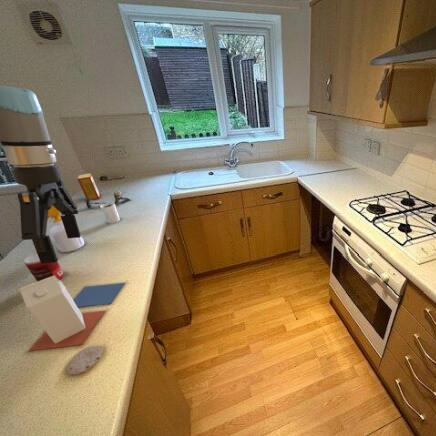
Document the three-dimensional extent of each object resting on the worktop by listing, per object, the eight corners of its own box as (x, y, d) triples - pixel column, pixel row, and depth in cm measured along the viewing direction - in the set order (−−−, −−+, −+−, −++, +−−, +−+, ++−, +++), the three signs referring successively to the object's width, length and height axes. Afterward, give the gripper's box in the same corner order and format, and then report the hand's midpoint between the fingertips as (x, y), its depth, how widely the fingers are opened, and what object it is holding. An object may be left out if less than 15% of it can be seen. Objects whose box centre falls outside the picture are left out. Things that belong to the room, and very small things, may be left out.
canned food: (60, 270, 98) (46, 248, 93) (68, 276, 95) (54, 254, 89) (35, 281, 92) (19, 258, 87) (43, 288, 89) (27, 265, 84)
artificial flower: (91, 207, 156) (88, 191, 154) (131, 204, 164) (129, 190, 162) (85, 209, 148) (82, 192, 146) (128, 206, 156) (126, 191, 154)
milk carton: (53, 329, 73) (18, 282, 64) (82, 315, 77) (53, 269, 68) (55, 344, 68) (18, 296, 59) (86, 328, 73) (55, 281, 64)
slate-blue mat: (66, 308, 80) (65, 308, 80) (85, 287, 89) (84, 286, 89) (110, 304, 82) (110, 303, 81) (124, 283, 90) (124, 282, 90)
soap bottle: (84, 239, 119) (60, 193, 107) (85, 247, 112) (60, 199, 101) (60, 246, 114) (33, 199, 102) (60, 255, 107) (30, 205, 96)
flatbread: (78, 380, 60) (76, 378, 59) (60, 369, 62) (58, 367, 62) (110, 351, 66) (109, 349, 66) (93, 342, 69) (91, 340, 68)
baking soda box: (99, 198, 165) (89, 176, 158) (87, 200, 162) (77, 178, 155) (100, 194, 172) (90, 172, 165) (89, 196, 169) (78, 174, 162)
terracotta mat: (28, 351, 67) (28, 350, 67) (59, 316, 78) (59, 315, 77) (82, 345, 68) (81, 344, 68) (105, 311, 79) (105, 310, 79)
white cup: (108, 219, 137) (101, 204, 132) (121, 217, 139) (115, 201, 135) (106, 224, 131) (98, 208, 127) (120, 222, 134) (113, 205, 129)
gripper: (23, 175, 44) (58, 272, 52) (78, 157, 66) (97, 228, 73) (-35, 176, 41) (12, 279, 49) (43, 157, 63) (66, 230, 71)
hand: (63, 248), depth 61 cm, fingers open, 13 cm apart
